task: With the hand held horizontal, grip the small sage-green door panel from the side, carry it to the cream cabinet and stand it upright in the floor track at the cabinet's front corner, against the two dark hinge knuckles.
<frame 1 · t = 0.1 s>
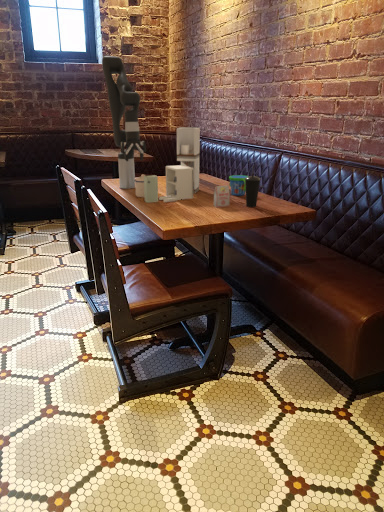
hand: (134, 160, 227), 17 cm above the table, tool pointing down, fingers open, 8 cm apart
drinking cup: (251, 206, 200), on the table
snack cup: (238, 195, 226), on the table
door: (151, 201, 209), on the table
cabinet: (179, 196, 220), on the table
display case: (188, 191, 235), on the table
white milk carton: (221, 206, 200), on the table
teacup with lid: (143, 195, 223), on the table
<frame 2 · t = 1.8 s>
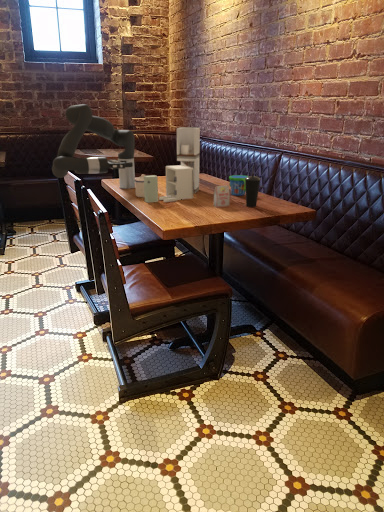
hand: (129, 163, 197), 20 cm above the table, tool horizontal, fingers open, 8 cm apart
nothing on the table moved.
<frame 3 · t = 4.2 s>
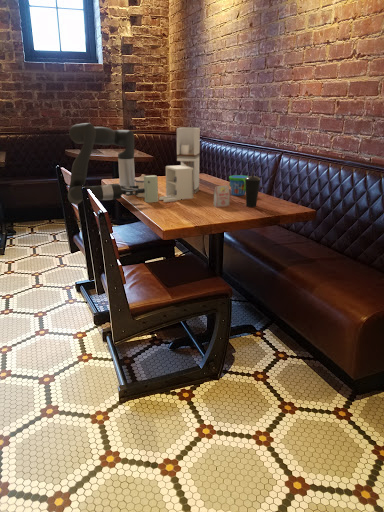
hand: (141, 189, 204), 7 cm above the table, tool horizontal, fingers open, 8 cm apart
nothing on the table moved.
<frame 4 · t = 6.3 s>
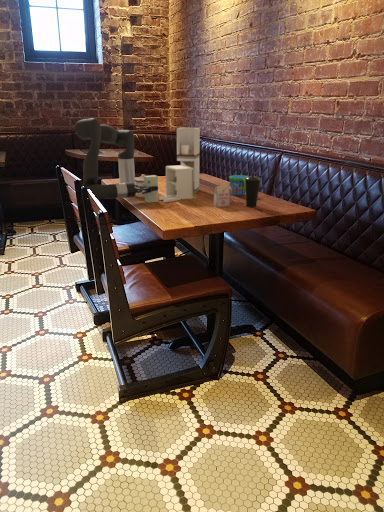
hand: (155, 187, 208), 7 cm above the table, tool horizontal, fingers closed on door, 3 cm apart
door: (151, 201, 209), on the table, touching gripper
everything else where it was.
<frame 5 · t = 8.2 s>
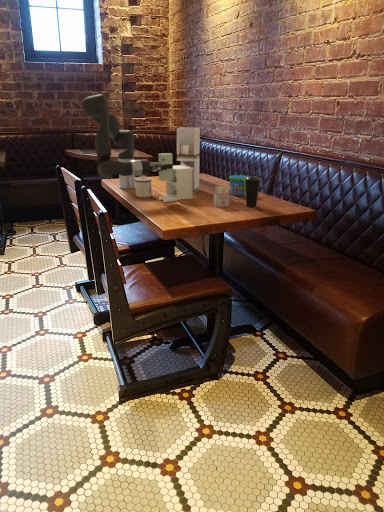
hand: (170, 165, 206), 18 cm above the table, tool horizontal, fingers closed on door, 3 cm apart
door: (165, 179, 207), point 11 cm above the table, touching gripper
everything else where it was.
when the fingers open (8 cm above the table, at t = 10.4 s): door drops 1 cm, resting in cabinet.
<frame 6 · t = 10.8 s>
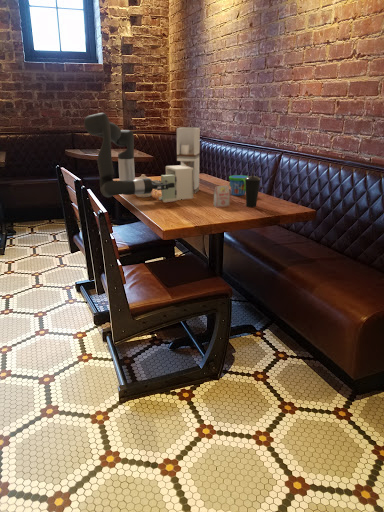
hand: (170, 183, 209), 8 cm above the table, tool horizontal, fingers open, 7 cm apart
door: (168, 200, 212), resting in cabinet
everything else where it was.
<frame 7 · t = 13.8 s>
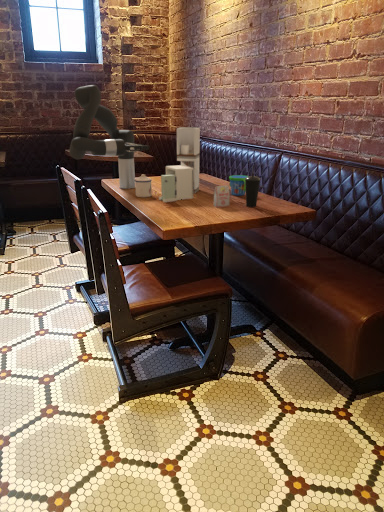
hand: (145, 146, 197), 28 cm above the table, tool horizontal, fingers open, 8 cm apart
nothing on the table moved.
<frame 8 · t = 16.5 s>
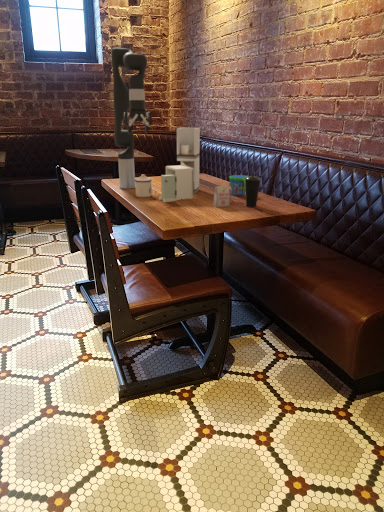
hand: (138, 134, 202), 33 cm above the table, tool pointing down, fingers open, 8 cm apart
nothing on the table moved.
at the end: door 0.3 cm from the target spot, resting in cabinet; door tilted 0°; the gripper is holding nothing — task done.
